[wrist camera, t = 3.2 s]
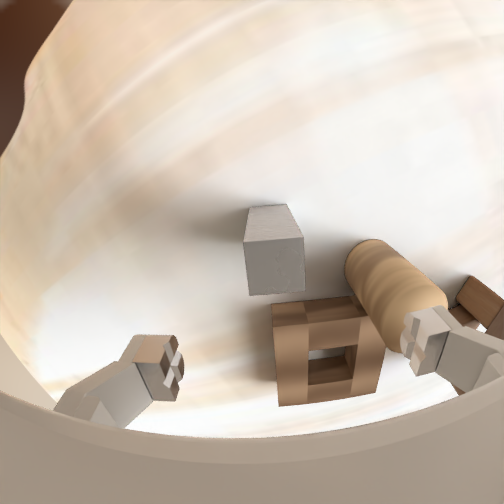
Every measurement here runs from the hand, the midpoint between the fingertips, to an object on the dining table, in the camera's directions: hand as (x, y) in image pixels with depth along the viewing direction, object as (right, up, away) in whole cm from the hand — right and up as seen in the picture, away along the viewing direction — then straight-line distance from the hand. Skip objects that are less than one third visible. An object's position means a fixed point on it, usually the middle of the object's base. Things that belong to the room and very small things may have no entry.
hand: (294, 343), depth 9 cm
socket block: (+6, -7, +20) cm, 22 cm away
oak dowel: (+10, +2, +17) cm, 20 cm away
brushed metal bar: (0, +6, +16) cm, 17 cm away
